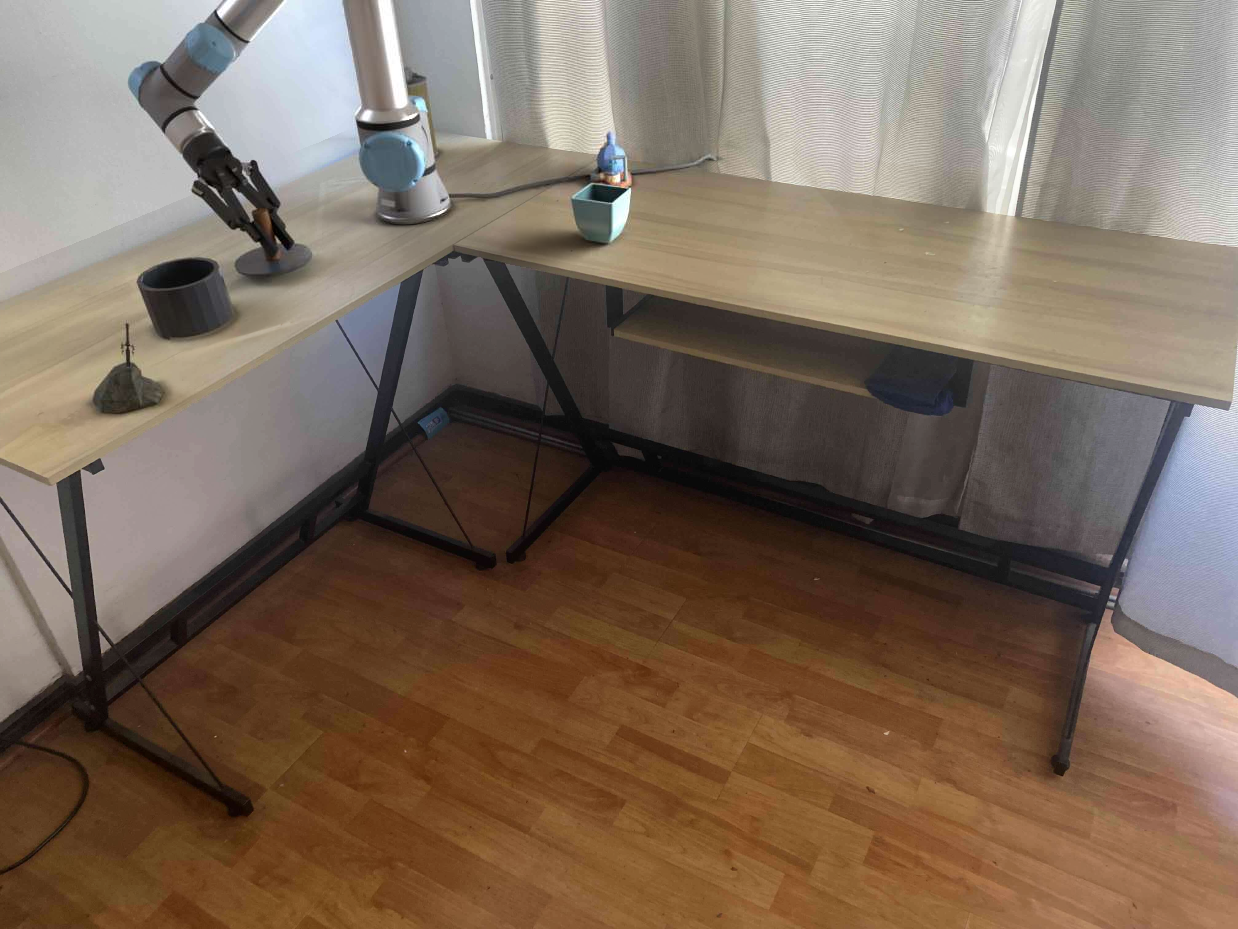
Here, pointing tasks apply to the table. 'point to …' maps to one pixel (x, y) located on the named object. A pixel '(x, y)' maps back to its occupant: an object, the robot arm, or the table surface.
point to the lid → (260, 260)
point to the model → (611, 165)
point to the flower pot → (601, 211)
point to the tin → (185, 297)
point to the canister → (419, 88)
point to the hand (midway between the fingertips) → (283, 249)
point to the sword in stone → (126, 387)
